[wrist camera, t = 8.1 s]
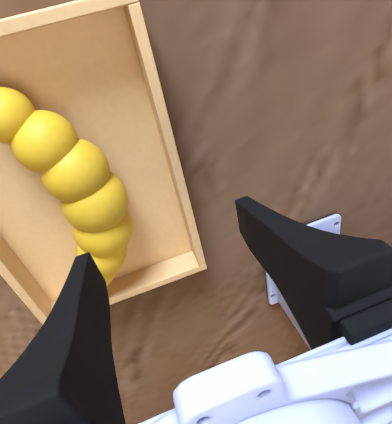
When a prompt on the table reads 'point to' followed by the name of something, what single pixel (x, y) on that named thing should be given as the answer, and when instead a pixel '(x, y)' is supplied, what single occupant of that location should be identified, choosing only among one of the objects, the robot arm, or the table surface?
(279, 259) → the robot arm
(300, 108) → the table surface
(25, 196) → the tray
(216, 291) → the table surface
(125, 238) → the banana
